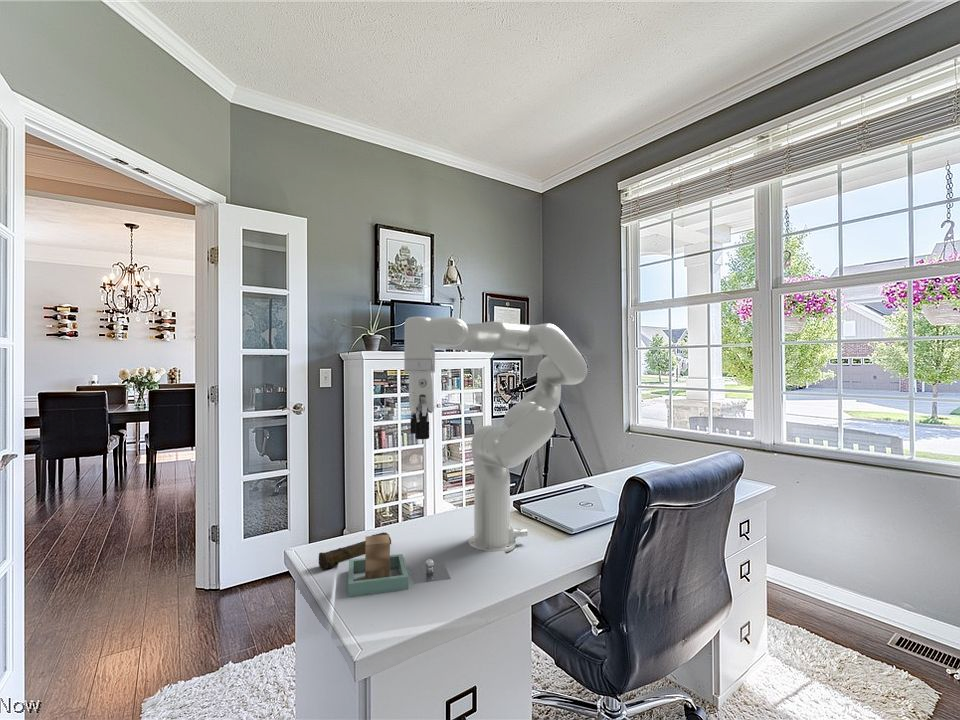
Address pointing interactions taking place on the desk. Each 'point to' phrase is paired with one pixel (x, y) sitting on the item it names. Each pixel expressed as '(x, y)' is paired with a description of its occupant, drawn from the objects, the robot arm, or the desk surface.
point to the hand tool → (343, 554)
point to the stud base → (429, 578)
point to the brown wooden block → (377, 556)
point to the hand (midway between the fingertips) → (419, 436)
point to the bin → (378, 583)
